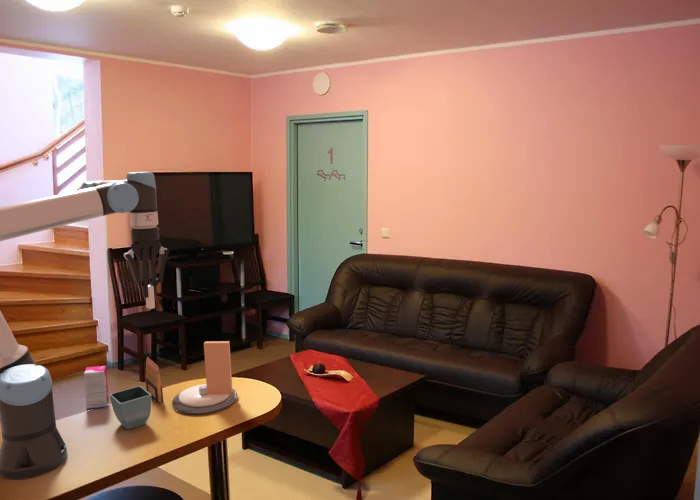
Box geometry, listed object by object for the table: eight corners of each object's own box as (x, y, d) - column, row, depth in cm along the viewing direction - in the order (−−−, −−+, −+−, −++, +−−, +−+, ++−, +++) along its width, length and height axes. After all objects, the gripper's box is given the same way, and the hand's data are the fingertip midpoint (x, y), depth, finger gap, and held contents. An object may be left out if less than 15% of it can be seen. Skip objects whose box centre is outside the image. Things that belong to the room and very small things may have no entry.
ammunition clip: (163, 402, 181) (160, 364, 179) (157, 404, 180) (154, 366, 178) (152, 391, 189) (149, 355, 187) (146, 393, 188) (143, 356, 186)
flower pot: (122, 435, 160) (119, 403, 159) (111, 424, 167) (108, 393, 166) (154, 425, 166) (152, 394, 164) (142, 414, 173) (140, 385, 171)
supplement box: (107, 408, 178) (103, 371, 176) (86, 410, 176) (82, 373, 174) (109, 400, 183) (106, 364, 181) (89, 403, 182) (85, 367, 180)
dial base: (158, 407, 178) (157, 394, 177) (203, 384, 194) (203, 373, 193) (206, 420, 168) (205, 406, 167) (249, 395, 184) (249, 383, 184)
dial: (172, 407, 174) (167, 351, 171) (187, 387, 188) (184, 335, 186) (226, 406, 173) (222, 350, 170) (237, 386, 188) (234, 334, 185)
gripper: (126, 230, 163) (133, 314, 166) (172, 225, 171) (177, 306, 175) (116, 227, 168) (123, 309, 172) (161, 223, 177) (166, 301, 180)
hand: (150, 307), depth 173 cm, fingers closed
